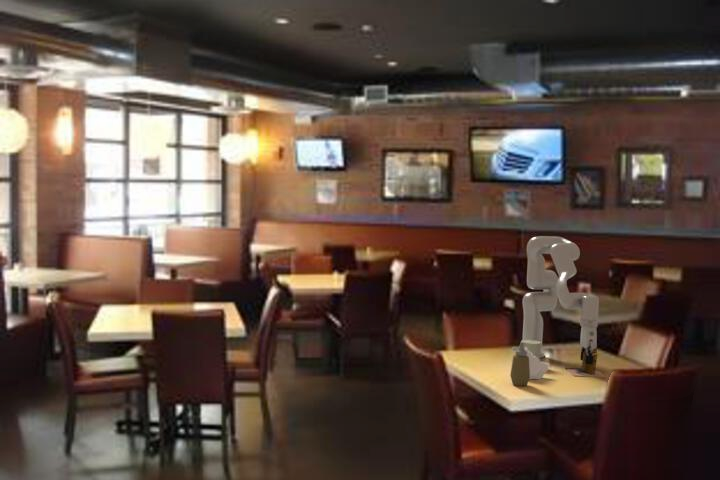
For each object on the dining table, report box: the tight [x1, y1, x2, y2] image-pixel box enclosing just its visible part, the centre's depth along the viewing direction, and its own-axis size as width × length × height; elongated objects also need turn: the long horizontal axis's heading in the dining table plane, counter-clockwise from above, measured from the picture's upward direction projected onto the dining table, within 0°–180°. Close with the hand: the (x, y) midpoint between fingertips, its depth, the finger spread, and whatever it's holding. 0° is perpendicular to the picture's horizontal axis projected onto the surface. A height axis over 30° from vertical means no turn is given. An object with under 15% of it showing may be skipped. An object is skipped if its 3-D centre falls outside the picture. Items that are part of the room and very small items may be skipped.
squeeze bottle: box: [509, 341, 531, 387], centre depth 325 cm, size 8×8×18 cm
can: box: [520, 339, 541, 361], centre depth 362 cm, size 9×9×12 cm
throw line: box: [565, 366, 597, 370], centre depth 359 cm, size 14×2×1 cm, turn 90°
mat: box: [566, 369, 606, 378], centre depth 351 cm, size 14×12×1 cm
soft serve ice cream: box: [524, 347, 549, 381], centre depth 339 cm, size 12×15×14 cm
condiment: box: [575, 346, 599, 375], centre depth 350 cm, size 7×8×12 cm
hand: (586, 361), depth 351 cm, fingers open, 7 cm apart
